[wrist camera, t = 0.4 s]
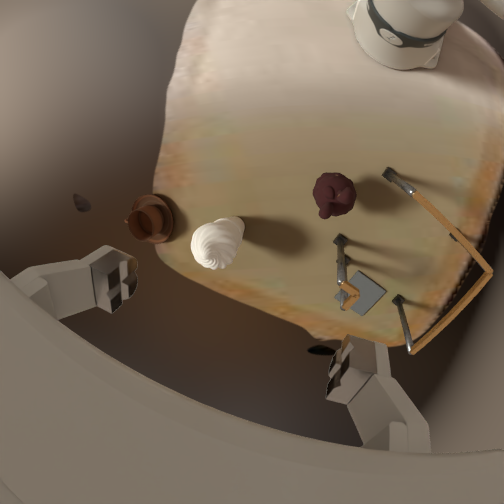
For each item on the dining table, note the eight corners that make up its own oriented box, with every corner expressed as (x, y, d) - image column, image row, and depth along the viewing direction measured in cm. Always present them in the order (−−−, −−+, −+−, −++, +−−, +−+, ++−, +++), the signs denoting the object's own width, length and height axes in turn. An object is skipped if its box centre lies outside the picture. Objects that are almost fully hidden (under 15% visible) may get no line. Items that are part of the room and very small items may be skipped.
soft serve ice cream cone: (235, 251, 59) (203, 290, 45) (208, 222, 58) (169, 253, 44) (262, 229, 55) (237, 264, 41) (235, 198, 54) (199, 223, 40)
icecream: (335, 158, 46) (337, 168, 33) (361, 190, 47) (372, 212, 34) (307, 182, 49) (297, 200, 36) (332, 212, 50) (332, 242, 37)
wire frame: (387, 166, 43) (413, 182, 29) (460, 233, 43) (498, 272, 28) (324, 252, 54) (319, 299, 39) (397, 304, 54) (411, 359, 39)
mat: (358, 270, 53) (358, 271, 53) (385, 290, 53) (385, 291, 53) (334, 296, 57) (334, 297, 57) (361, 314, 57) (361, 316, 57)
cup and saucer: (146, 244, 66) (131, 254, 61) (129, 200, 62) (113, 207, 57) (184, 235, 62) (170, 246, 56) (166, 186, 58) (150, 192, 52)
